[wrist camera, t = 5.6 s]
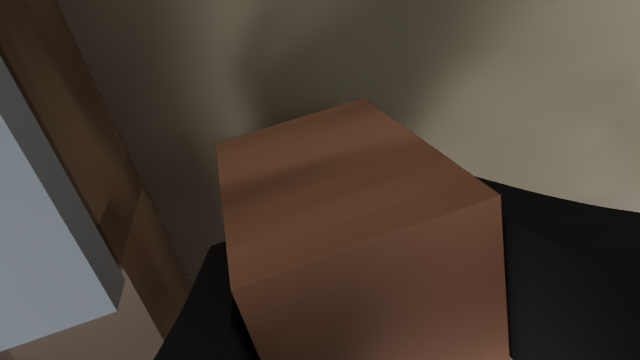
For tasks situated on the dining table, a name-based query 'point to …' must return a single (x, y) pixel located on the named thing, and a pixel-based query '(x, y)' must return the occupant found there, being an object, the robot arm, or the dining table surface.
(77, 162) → the brown tray
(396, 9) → the dining table surface
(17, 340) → the lid
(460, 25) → the dining table surface
